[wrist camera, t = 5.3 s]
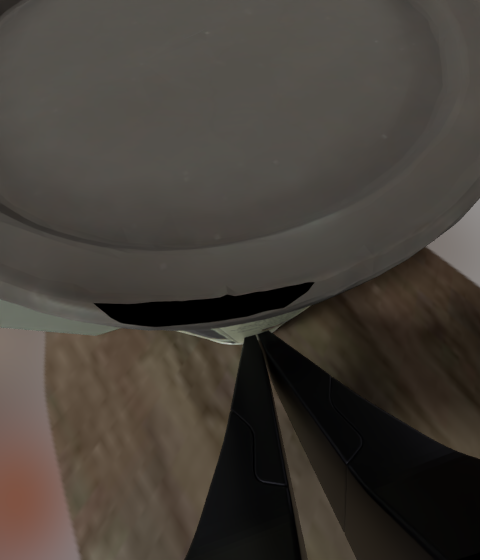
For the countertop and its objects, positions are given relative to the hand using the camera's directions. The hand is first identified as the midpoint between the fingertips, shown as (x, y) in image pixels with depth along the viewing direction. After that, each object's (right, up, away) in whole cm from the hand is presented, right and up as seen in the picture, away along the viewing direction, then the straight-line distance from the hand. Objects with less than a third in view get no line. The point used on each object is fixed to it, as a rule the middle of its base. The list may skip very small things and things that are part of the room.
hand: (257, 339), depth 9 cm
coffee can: (-1, +2, +8) cm, 9 cm away
